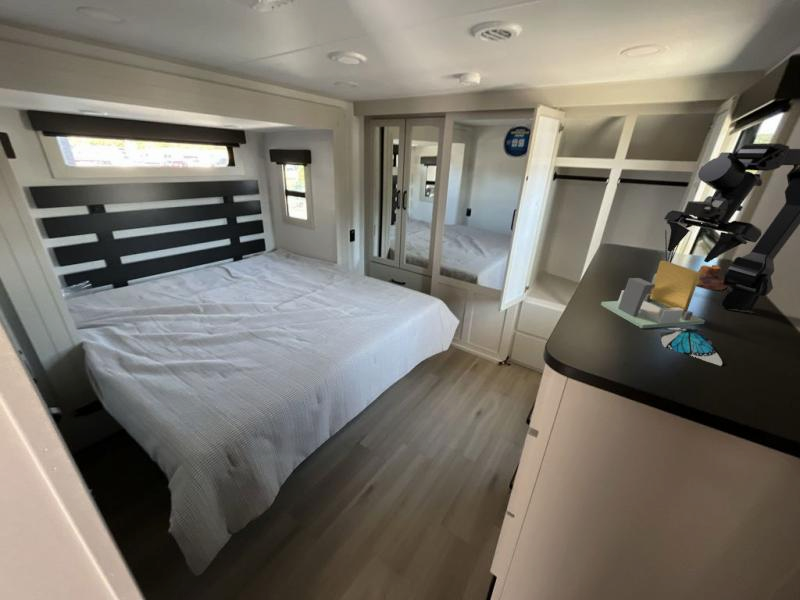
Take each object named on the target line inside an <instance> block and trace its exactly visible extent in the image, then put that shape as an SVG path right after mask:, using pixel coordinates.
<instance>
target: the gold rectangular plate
mask: <svg viewBox="0 0 800 600" xmlns="http://www.w3.org/2000/svg"><path fill="white" fill-rule="evenodd" d="M656 273H657V274H656ZM656 273H655V274H656V278H655V281H654V284H655V287H654V288H651V293H650V294H651V295H650V298H649V301H651V302H653V303H655V304H658V305H660V306H662V307H664V308H681V309H683V310H684V312H688V311H689V307H690V304H691V301H692V299H693V297H694V294H695V290H696V288H697V286H696V285H697V282H698V279H699V276H700V272H698V271H697V270H695V269H691V268H688V267H684V266H682V265H678V264H676V263H672V262H671V263H670V261H668V262H667V261H666V260H660V261H659V264H658V267H657V272H656ZM684 312H683V314H684ZM683 314H682V316H683Z"/></svg>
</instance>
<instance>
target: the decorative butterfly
mask: <svg viewBox="0 0 800 600" xmlns="http://www.w3.org/2000/svg"><path fill="white" fill-rule="evenodd" d="M668 330H672V331H662V332H660V333H659V336H660V337H661V339H660V340H661V343H662V346H663V347H664V348H665V347H666V348H665V349H668V348H669V350H671V349H672V350H671V351H674V350H675V351H674V352H677V351H678V352H677V353H680V352H681V354H683V353H684V354H683V355H688V354H689V356H690V357H692V356H693V357H692V358H695V357H696V359H700V360H702V361H704V362H707V363H711V364H714V365H717V366H719V367H721V366H722V365H723V361H722V358H721V357H720V355H719V354H718V353H717V351H716V350H715V349H714V348H713V346H711V345H712V344H713V342H712V341H711V340H710V339H709V338H708V337H706V336H704V335H702V334H700V333H698V331H700V332H701V329H698V328H687V327H671V328H670V327H669V328H668ZM711 334H714V333H711Z"/></svg>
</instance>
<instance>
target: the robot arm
mask: <svg viewBox="0 0 800 600" xmlns="http://www.w3.org/2000/svg"><path fill="white" fill-rule="evenodd" d="M781 166H793V168H791V170H790V171H789V172H788V173H787V174H786V179H787V186H786V188H785V190H784V195H785V198H784V199H785V203H784V204H783V206H782V207H781V209H780V210H779V212H778V214H776V216H775V217H774V219H773V220H772V222H771V223H770V224H769V226H768V227H767V228H766V230H765V231H764V233H763V234H762V232H763V231H762V229H760V228H759V227H758V226H756V225H755V224H753V223H751V222H745V221H739V220H732V221H730V220H731V219H732V218H733V216H734V215H735V213H736V212H741V211H742V209H743V208H744V207H743V206H742V204H743V203H744V201H745V200H746V198H747V197H748V196H749V194H750V193H751V192H752V190H753V189H754V187H761V186H762V184H763V180H762V178H761V174H759V173H752V172H751V171H758V172H759V171H760V172H762V171H763V172H767V171H768V172H769V171H772V170H777V169H780V168H781ZM697 177H698V178H699V180H700V181H702V183H705V184H706V185H707V186H709V187H710V188H712V189H713V190H715V192H714V193H713V195H712V196H711V195H708V196H707V197H705V199H704V201H698V200H697V201H694V200H693V201H691V200H690V201H687V203H686V206H685V209H684V211H679V210H670V211H669V212H667V213H666V214H665V216H664V218H663V220H664V221H666V224H668V226H669V227H670V237H669V240H668V245H667V251H668V252H669V253H670V252H671V253H672V252H673V249H674V248H675V249H676V247H677V245H678V244H679V245H680V243H681V241H683V239H684V238H685V237H686V236H687V234H688V233H690V231H691V230H690V229H689V228H691V227H693V226H694V227H698V228H704V229H709V230H714V231H718V232H720V234H719V237H718V238H719V239H718V241H716V243H715V244H714V246H713V247H712V248H711V249H710V251H709V252H708V253H707V254H706V256H705V258H704V260H703V262H705V263H709V262H711V261H713V260H714V259H717V257H720V256H721V255H723V254H724V253H726V252H728V251H730V250H732V249H734V248H736V247H738V246H740V245H747V243H749V242H752V243H756V244H755V246H753V248H752V250H751V251H750V252H749V253H747V254H745V255H743V256H738V257H736V258H735V259H734V260H733V262H732V263H731V265H730V266H729V267H728V268H727V269H726V270H725V274H724V277H723V278H724V283H723V285H727V289H725V290H723V291H722V294H721V295H720V297H719V299H718V300H717V303H718V304H719V306H721V307H722V306H723V307H724V308H725V309H724V308H723V307H722V308H723V309H724V310H726V309H738V310H745V311H746V310H750V311H751V310H752V311H753V309H754V307H755V305H756V304H757V301H758V300H759V298H760V296H762V297H766V296H768V295H769V294H770V293H771V291H773V289H774V287H773V281H772V276H773V274H774V272H775V264H774V260H775V258H776V256H777V255H778V254H779V253H780V251H781V250H782V248H783V247H784V246H785V244H786V243H787V242H788V241H789V240H790V238H791V236H792V235H793V234H794V232H795V231H796V230H797V229H798V227H799V226H800V148H790V146H789V145H787V144H784V143H780V142H779V143H778V142H776V143H775V142H773V143H772V142H771V143H769V142H768V143H766V142H765V143H746V144H743V145H742V146H741V148H740V149H738V150H737V151H735V152H720V153H719V155H718V157H715V158H712V159H710V160H709V161H707V162H706V163H705V164H704V165H702V166H701V167H700V169H699V171H698V173H697ZM679 245H678V246H679ZM675 249H674V250H675ZM750 313H752V312H750ZM753 313H754V314H755V311H753Z"/></svg>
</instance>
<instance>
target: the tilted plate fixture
mask: <svg viewBox="0 0 800 600" xmlns="http://www.w3.org/2000/svg"><path fill="white" fill-rule="evenodd" d="M654 287H655V284H652V282H649V281H647V280H645V279H643V278H640V277H634V278H633V277H630V278H629V277H628V280H627V282H626V286H625V289H623V290H621V292H620V295H619V297H618V300H614V301H613V300H612V301H601V303H600V306H602V307H604V308H605V309H607V310H608V311H611V312H613V313H614V314H615V315H617V316H619V317H620V318H623V319H625V320H627V321H628V322H630V323H631V324H633V325H635V326H636V327H638V326H639V327H638V328H640V329H650V328H653V329H654V328H664V327H676V326H677V327H680V326H691V325H700V324H701V325H704V323H705V321H706V320H705V319H703V318H700V317H697V315H694V312H693V311H689V310H687V312H684V310H683V309H681V308H664V307H662V306H660V305H658V304H655V303H653V302H651V301H649V298H650V295H651V293H648V291H649V290H650V289H652V288H654ZM647 293H648V294H647ZM683 312H684V314H683ZM682 314H683V316H682Z"/></svg>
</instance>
